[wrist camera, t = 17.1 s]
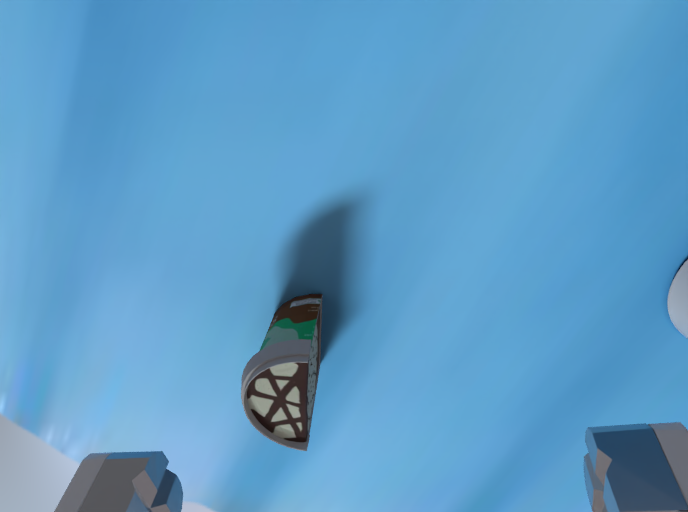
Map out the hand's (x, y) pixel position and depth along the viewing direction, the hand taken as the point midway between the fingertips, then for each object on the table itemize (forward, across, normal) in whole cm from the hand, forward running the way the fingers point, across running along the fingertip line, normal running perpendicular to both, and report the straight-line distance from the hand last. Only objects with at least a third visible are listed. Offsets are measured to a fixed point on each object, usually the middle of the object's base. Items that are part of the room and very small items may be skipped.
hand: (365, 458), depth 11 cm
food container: (+35, +14, +26) cm, 46 cm away
